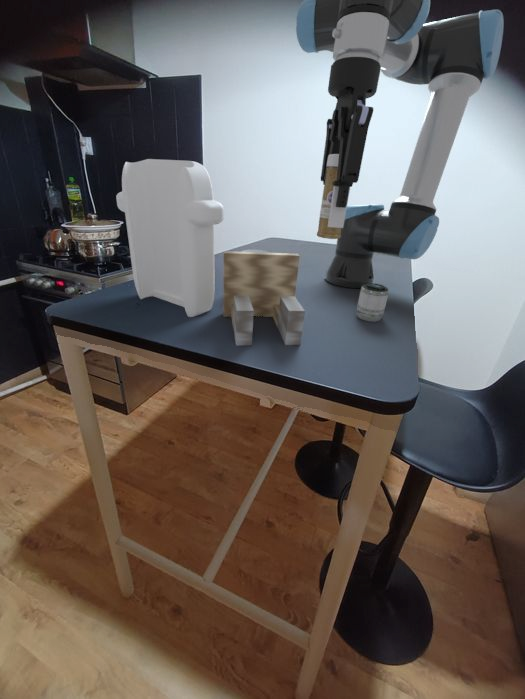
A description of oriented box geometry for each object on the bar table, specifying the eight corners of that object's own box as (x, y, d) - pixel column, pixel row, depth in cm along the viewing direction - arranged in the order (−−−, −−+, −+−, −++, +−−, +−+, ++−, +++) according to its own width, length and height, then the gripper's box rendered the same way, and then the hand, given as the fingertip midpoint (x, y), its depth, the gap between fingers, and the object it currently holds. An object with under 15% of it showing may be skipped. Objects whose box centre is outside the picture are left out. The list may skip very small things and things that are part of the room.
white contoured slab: (236, 310, 75) (240, 164, 61) (203, 324, 67) (199, 159, 53) (159, 285, 88) (148, 160, 74) (124, 294, 80) (103, 155, 66)
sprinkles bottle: (317, 238, 58) (329, 152, 52) (315, 234, 62) (326, 154, 56) (342, 240, 58) (357, 154, 52) (338, 236, 62) (352, 156, 56)
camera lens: (360, 310, 81) (367, 280, 77) (385, 316, 78) (393, 285, 74) (351, 317, 76) (358, 285, 72) (377, 324, 73) (385, 291, 69)
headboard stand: (290, 313, 76) (297, 253, 69) (309, 344, 62) (319, 273, 55) (223, 313, 73) (223, 251, 66) (226, 345, 59) (227, 271, 52)
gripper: (315, 75, 55) (299, 219, 66) (357, 36, 40) (326, 231, 51) (355, 81, 56) (333, 221, 67) (410, 45, 41) (370, 233, 52)
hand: (330, 225), depth 59 cm, fingers closed on sprinkles bottle, 4 cm apart
